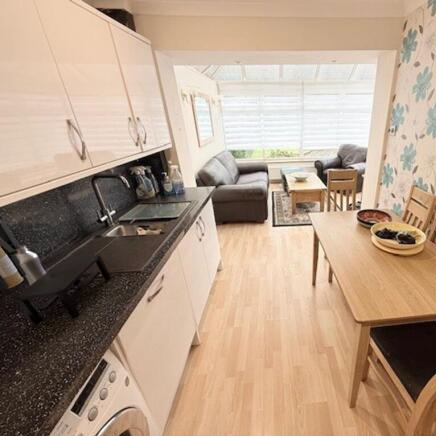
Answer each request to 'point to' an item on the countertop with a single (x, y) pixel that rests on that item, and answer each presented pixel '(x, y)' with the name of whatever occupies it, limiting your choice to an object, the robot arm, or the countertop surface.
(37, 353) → the countertop surface
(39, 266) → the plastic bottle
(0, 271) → the sprinkles bottle
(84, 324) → the countertop surface
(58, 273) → the stand
